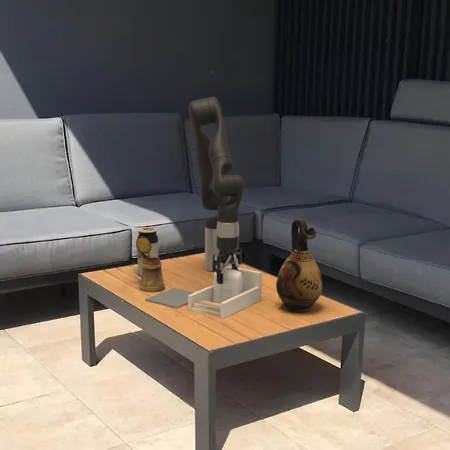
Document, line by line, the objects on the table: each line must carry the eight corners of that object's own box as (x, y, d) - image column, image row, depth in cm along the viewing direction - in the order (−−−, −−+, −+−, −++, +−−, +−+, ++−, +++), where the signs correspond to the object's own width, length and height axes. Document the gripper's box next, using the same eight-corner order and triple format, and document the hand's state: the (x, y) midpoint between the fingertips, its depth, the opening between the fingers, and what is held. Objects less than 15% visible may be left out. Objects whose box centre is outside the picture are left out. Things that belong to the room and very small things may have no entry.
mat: (174, 289, 261) (174, 287, 260) (205, 296, 253) (205, 294, 253) (145, 300, 248) (145, 299, 248) (177, 308, 240) (177, 306, 240)
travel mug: (154, 270, 284) (154, 226, 280) (161, 276, 277) (160, 230, 273) (135, 272, 281) (134, 228, 277) (141, 278, 274) (140, 232, 270)
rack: (226, 292, 257) (227, 265, 255) (261, 300, 249) (261, 272, 247) (188, 309, 239) (187, 280, 237) (223, 318, 231) (223, 288, 229)
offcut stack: (199, 308, 241) (199, 300, 241) (227, 313, 236) (227, 305, 236) (191, 312, 237) (191, 304, 236) (220, 318, 232) (220, 309, 232)
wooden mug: (152, 280, 271) (151, 234, 267) (169, 289, 260) (168, 241, 256) (130, 284, 266) (129, 237, 262) (147, 293, 255) (146, 244, 251)
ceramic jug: (330, 312, 238) (333, 223, 231) (288, 317, 232) (291, 227, 225) (305, 297, 253) (308, 213, 247) (265, 302, 247) (267, 217, 241)
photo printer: (244, 303, 245) (244, 269, 243) (239, 307, 241) (240, 272, 239) (216, 300, 249) (216, 265, 246) (211, 303, 245) (211, 268, 242)
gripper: (230, 229, 248) (230, 274, 251) (206, 236, 236) (205, 283, 240) (248, 232, 243) (247, 278, 247) (224, 239, 232) (224, 287, 235)
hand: (227, 280), depth 243 cm, fingers open, 8 cm apart
